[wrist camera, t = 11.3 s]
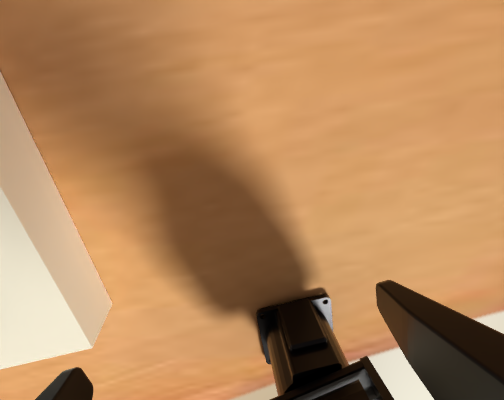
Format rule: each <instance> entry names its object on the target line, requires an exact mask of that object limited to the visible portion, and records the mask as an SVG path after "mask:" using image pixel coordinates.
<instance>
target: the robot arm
mask: <svg viewBox="0 0 504 400" xmlns="http://www.w3.org/2000/svg"><path fill="white" fill-rule="evenodd" d="M376 297H377V306H378V309H379V311H380V313H381V315H382V317H383V318H384V320H385V322H386V324H387V325H388V327H389V329H390V331H391V333H392V334H393V336H394V338H395V340H396V341H397V343H398V345H399V347H400V348H401V350H402V352H403V354H404V355H405V357H406V359H407V360H408V362H409V364H410V365H411V366H412V368H413V369H414V371H415V372H416V374H417V375H418V377H419V378H420V380H421V381H422V382H423V384H424V385H425V387H426V388H427V390H428V391H429V392H430V394H431V395H432V397H433V398H434V400H504V334H502V333H500V332H498V331H496V330H494V329H492V328H490V327H488V326H486V325H484V324H481V323H479V322H477V321H475V320H473V319H471V318H469V317H467V316H465V315H463V314H461V313H459V312H456V311H454V310H452V309H450V308H448V307H446V306H444V305H442V304H440V303H438V302H436V301H433V300H431V299H429V298H427V297H425V296H423V295H421V294H419V293H417V292H415V291H413V290H411V289H408V288H406V287H404V286H402V285H400V284H398V283H396V282H394V281H391V280H386V281H383V282H379V283H377V284H376ZM324 300H325V301H324ZM262 314H264V315H262ZM256 316H257V321H258V325H259V330H260V335H261V339H262V344H263V349H264V353H265V358H266V362H267V363H268V364H271V365H272V369H273V374H274V379H275V383H276V388H277V392H278V396H277V397H275V398H273V399H270V400H394V398H393V397H392V395H391V394H390V392H389V391H388V389H387V387H386V386H385V384H384V383H383V381H382V379H381V378H380V376H379V374H378V373H377V371H376V370H375V368H374V366H373V365H372V363H371V362H370V360H369V358H368V357H367V356H365V357H363V358H360V361H357V362H355V363H353V364H351V365H349V364H348V362H347V360H346V358H345V356H344V354H343V352H342V350H341V348H340V346H339V343H338V341H337V339H336V337H335V335H334V333H333V323H332V308H331V299H330V297H329V296H328V295H327V294H323V295H318V296H314V297H310V298H305V299H301V300H297V301H292V302H288V303H284V304H279V305H275V306H271V307H266V308H262V309H259V310H258V311H257V312H256ZM92 397H93V385H92V383H91V381H90V380H89V379H88V377H87V376H86V374H85V373H84V372H83V370H82V369H81V368H79V367H76V368H72V369H68V370H65V371H63V372H62V373H61V374H60V375H59V376H58V377H57V378H56V379H55V380H54V381H53V382H52V383H51V384H50V385H49V386H48V387H47V388H46V389H45V390H44V391H43V392H42V393H41V394H40V395H39V396H38V397H37V398H36V399H35V400H92Z"/></svg>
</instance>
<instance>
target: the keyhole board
mask: <svg viewBox="0 0 504 400" xmlns="http://www.w3.org/2000/svg"><path fill="white" fill-rule="evenodd" d="M112 304H113V303H112V301H111V299H110V297H109V295H108V293H107V291H106V289H105V287H104V285H103V283H102V280H101V278H100V276H99V274H98V272H97V270H96V268H95V266H94V264H93V262H92V260H91V258H90V256H89V254H88V251H87V249H86V247H85V245H84V243H83V241H82V239H81V237H80V235H79V233H78V231H77V229H76V227H75V225H74V223H73V220H72V218H71V216H70V214H69V212H68V210H67V208H66V206H65V204H64V202H63V200H62V198H61V196H60V194H59V192H58V189H57V187H56V185H55V183H54V181H53V179H52V177H51V175H50V173H49V171H48V169H47V167H46V165H45V163H44V160H43V158H42V156H41V154H40V152H39V150H38V148H37V146H36V144H35V142H34V140H33V138H32V136H31V134H30V132H29V129H28V127H27V125H26V123H25V121H24V119H23V117H22V115H21V113H20V111H19V109H18V107H17V105H16V103H15V100H14V98H13V96H12V94H11V92H10V90H9V88H8V86H7V84H6V82H5V80H4V78H3V76H2V74H1V72H0V369H4V368H8V367H13V366H17V365H21V364H26V363H30V362H34V361H39V360H43V359H47V358H52V357H56V356H60V355H64V354H69V353H73V352H77V351H82V350H86V349H90V348H93V346H94V343H95V341H96V339H97V337H98V335H99V332H100V330H101V328H102V326H103V324H104V321H105V319H106V317H107V315H108V313H109V310H110V308H111V306H112Z"/></svg>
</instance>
